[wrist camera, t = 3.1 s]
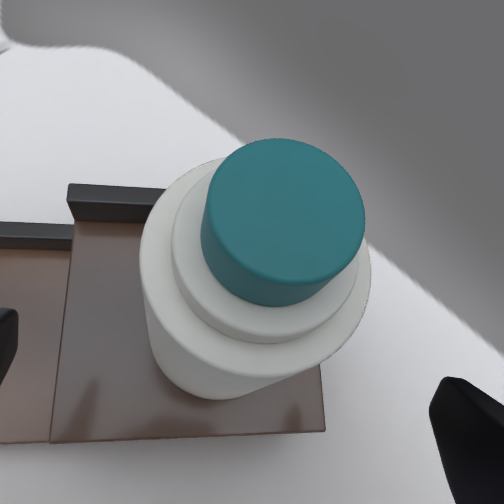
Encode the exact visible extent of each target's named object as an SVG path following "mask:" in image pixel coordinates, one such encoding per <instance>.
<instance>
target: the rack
mask: <svg viewBox="0 0 504 504" xmlns="http://www.w3.org/2000/svg"><path fill="white" fill-rule="evenodd" d="M165 190H166V189H158V188H141V187H124V186H107V185H90V184H73V183H70V184H69V185H68V191H67V199H66V201H67V203H68V206H69V208H70V210H71V213H72V215H73V218H74V219H75V220H74V225H71V224H48V223H24V222H1V221H0V307H5V308H11V309H15V310H16V311H17V312H18V316H19V322H18V348H17V352H16V355H15V358H14V360H13V362H12V364H11V366H10V368H9V370H8V372H7V374H6V376H5V378H4V380H3V382H2V384H1V386H0V444H23V443H46V442H49V444H65V443H88V442H110V441H133V440H156V439H178V438H201V437H224V436H246V435H269V434H291V433H314V432H325V430H326V427H325V416H324V405H323V393H322V382H321V371H320V364H318V365H316V366H314V367H312V368H310V369H307V370H305V371H302V372H300V373H297V374H295V375H292V376H290V377H288V378H285V379H283V380H280V381H278V382H275V383H273V384H270V385H268V386H265V387H263V388H260V389H258V390H255V391H253V392H251V393H248V394H246V395H243V396H240V397H237V398H233V399H226V400H211V399H205V398H201V397H198V396H194V395H192V394H190V393H188V392H186V391H184V390H182V389H181V388H179V387H178V386H176V385H175V384H174V383H173V382H172V381H171V380H169V378H168V377H167V376H166V375H165V374H164V373H163V371H162V370H161V368H160V367H159V365H158V364H157V362H156V360H155V358H154V355H153V352H152V349H151V346H150V340H149V334H148V326H147V319H146V312H145V305H144V297H143V290H142V283H141V276H140V263H139V252H140V243H141V237H142V234H143V230H144V226H145V223H146V221H147V219H148V216H149V214H150V212H151V210H152V209H153V207H154V205H155V204H156V202H157V200H158V199H159V198H160V197H161V195H162V194H163V193H164V192H165Z"/></svg>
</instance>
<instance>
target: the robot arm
mask: <svg viewBox="0 0 504 504" xmlns="http://www.w3.org/2000/svg"><path fill="white" fill-rule="evenodd" d="M18 322H19V316H18V312H17V311H16V310H15V309H11V308H5V307H0V386H1V384H2V382H3V380H4V378H5V376H6V374H7V372H8V370H9V368H10V366H11V364H12V362H13V360H14V358H15V355H16V352H17V348H18ZM429 417H430V421H431V425H432V428H433V432H434V435H435V439H436V443H437V446H438V450H439V453H440V457H441V461H442V464H443V468H444V471H445V475H446V478H447V481H448V484H449V487H450V490H451V493H452V495H453V498H454V500H455V503H456V504H504V405H502V404H501V403H499V402H498V401H496V400H495V399H493V398H492V397H490V396H489V395H487V394H486V393H484V392H483V391H481V390H480V389H478V388H477V387H475V386H474V385H472V384H471V383H469V382H468V381H466V380H464V379H462V378H455V377H444V378H443V379H442V380H441V382H440V384H439V386H438V388H437V390H436V392H435V394H434V397H433V399H432V401H431V403H430V406H429Z"/></svg>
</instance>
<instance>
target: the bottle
mask: <svg viewBox="0 0 504 504" xmlns="http://www.w3.org/2000/svg"><path fill="white" fill-rule="evenodd" d="M364 231H365V211H364V205H363V201H362V198H361V195H360V192H359V190H358V188H357V186H356V184H355V182H354V181H353V179H352V178H351V176H350V175H349V174H348V173H347V171H346V170H345V169H344V168H343V167H342V166H341V165H340V164H339V163H338V162H337V161H336V160H334V159H333V158H332V157H331V156H329V155H328V154H326V153H325V152H323V151H322V150H320V149H318V148H316V147H314V146H311V145H309V144H306V143H303V142H300V141H295V140H290V139H275V138H274V139H264V140H260V141H255V142H253V143H250V144H247V145H245V146H243V147H241V148H239V149H237V150H236V151H234V152H233V153H232V154H230V155H229V156H228V157H225V158H221V159H217V160H213V161H210V162H207V163H205V164H202V165H200V166H198V167H196V168H194V169H192V170H190V171H188V172H187V173H186V174H184V175H183V176H181V177H180V178H179V179H177V180H176V181H175V182H174V183H173V184H172V185H171V186H169V187H168V188H167V189H166V190H165V192H164V193H163V194H162V195H161V197H160V198H159V199H158V200H157V202H156V204H155V205H154V207H153V209H152V210H151V212H150V214H149V216H148V219H147V221H146V223H145V226H144V230H143V234H142V237H141V243H140V252H139V263H140V276H141V283H142V290H143V297H144V305H145V312H146V319H147V326H148V334H149V340H150V346H151V349H152V352H153V355H154V358H155V360H156V362H157V364H158V365H159V367H160V368H161V370H162V371H163V373H164V374H165V375H166V376H167V377H168V378H169V380H171V381H172V382H173V383H174V384H175V385H176V386H178V387H179V388H181V389H182V390H184V391H186V392H188V393H190V394H192V395H194V396H198V397H201V398H205V399H211V400H226V399H233V398H237V397H240V396H243V395H246V394H248V393H251V392H253V391H255V390H258V389H260V388H263V387H265V386H268V385H270V384H273V383H275V382H278V381H280V380H283V379H285V378H288V377H290V376H292V375H295V374H297V373H300V372H302V371H305V370H307V369H310V368H312V367H314V366H316V365H318V364H320V363H321V362H323V361H325V360H326V359H328V358H329V357H330V356H332V355H333V354H334V353H335V352H337V351H338V350H339V349H340V348H341V347H342V346H343V345H344V344H345V343H346V341H347V340H348V339H349V338H350V337H351V335H352V334H353V332H354V331H355V329H356V328H357V326H358V324H359V322H360V320H361V318H362V316H363V314H364V311H365V308H366V305H367V302H368V298H369V292H370V286H371V264H370V256H369V251H368V247H367V243H366V240H365V237H364Z"/></svg>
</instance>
